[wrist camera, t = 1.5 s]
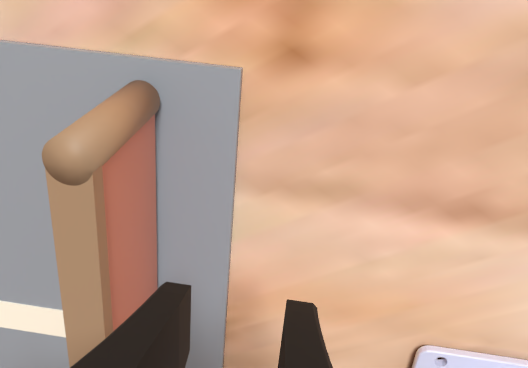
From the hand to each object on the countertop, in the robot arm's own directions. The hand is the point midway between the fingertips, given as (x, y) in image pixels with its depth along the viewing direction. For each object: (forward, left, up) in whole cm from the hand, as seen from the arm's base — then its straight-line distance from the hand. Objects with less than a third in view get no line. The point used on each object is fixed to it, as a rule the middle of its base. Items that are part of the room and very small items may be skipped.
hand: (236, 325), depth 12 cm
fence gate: (+5, +2, -8) cm, 10 cm away
